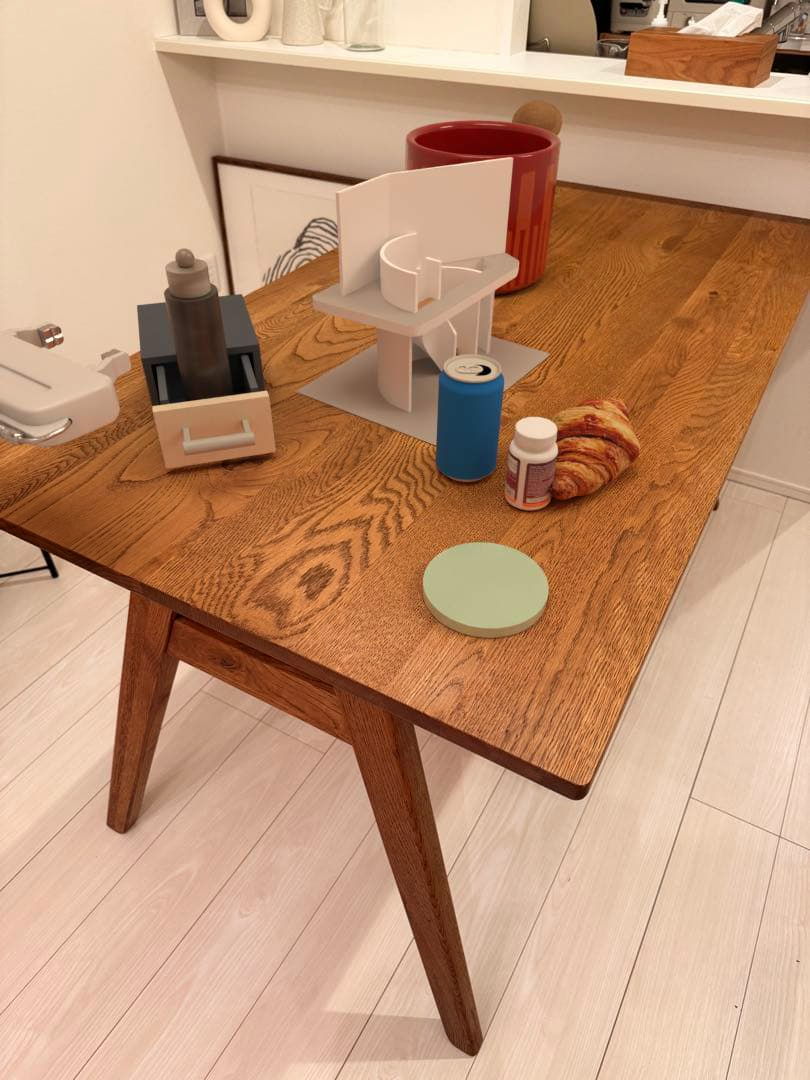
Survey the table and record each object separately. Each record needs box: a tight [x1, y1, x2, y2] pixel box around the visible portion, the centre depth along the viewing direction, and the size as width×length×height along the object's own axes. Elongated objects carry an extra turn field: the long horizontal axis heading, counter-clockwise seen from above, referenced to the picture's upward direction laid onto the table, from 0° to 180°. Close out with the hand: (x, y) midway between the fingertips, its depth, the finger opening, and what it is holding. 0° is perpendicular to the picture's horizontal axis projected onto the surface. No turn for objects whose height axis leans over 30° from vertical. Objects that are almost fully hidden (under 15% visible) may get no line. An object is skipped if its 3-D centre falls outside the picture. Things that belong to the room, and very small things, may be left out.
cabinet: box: [136, 293, 266, 407], centre depth 92 cm, size 15×13×9 cm
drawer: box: [151, 353, 277, 470], centre depth 83 cm, size 18×12×7 cm, turn 17°
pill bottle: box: [504, 416, 558, 511], centre depth 75 cm, size 5×5×8 cm
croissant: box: [549, 396, 641, 500], centre depth 82 cm, size 21×10×8 cm, turn 153°
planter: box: [404, 119, 562, 296], centre depth 119 cm, size 23×23×20 cm
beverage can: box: [435, 354, 504, 483], centre depth 78 cm, size 6×6×12 cm
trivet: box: [421, 541, 550, 639], centre depth 67 cm, size 11×11×1 cm
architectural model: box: [295, 157, 552, 446], centre depth 91 cm, size 28×21×23 cm
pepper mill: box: [163, 247, 234, 402], centre depth 79 cm, size 5×5×19 cm
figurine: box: [511, 99, 563, 136], centre depth 141 cm, size 9×7×20 cm
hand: (90, 344), depth 69 cm, fingers open, 8 cm apart
